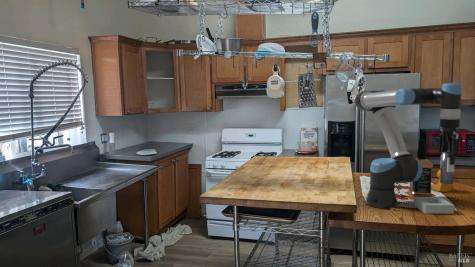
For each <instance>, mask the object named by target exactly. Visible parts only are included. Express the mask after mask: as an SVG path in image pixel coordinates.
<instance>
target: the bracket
mask: <svg viewBox="0 0 475 267" xmlns="http://www.w3.org/2000/svg"><path fill="white" fill-rule="evenodd" d="M440 174H441V169H439V170H438V171H437V173H436V177H437V178H438V183H434V184H431V190H434V191H438V192H442V193H445V192H450V191H451V190H454V183H453V184H443V183H440Z"/></svg>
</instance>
